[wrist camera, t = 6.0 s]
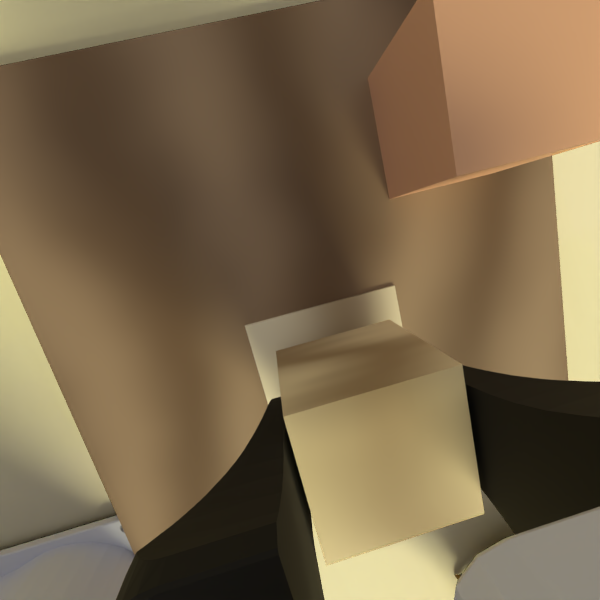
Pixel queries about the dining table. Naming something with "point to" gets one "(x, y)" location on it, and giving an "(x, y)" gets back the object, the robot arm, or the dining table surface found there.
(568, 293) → the dining table surface
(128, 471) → the brown wooden board
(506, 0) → the terracotta block
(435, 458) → the birch block
